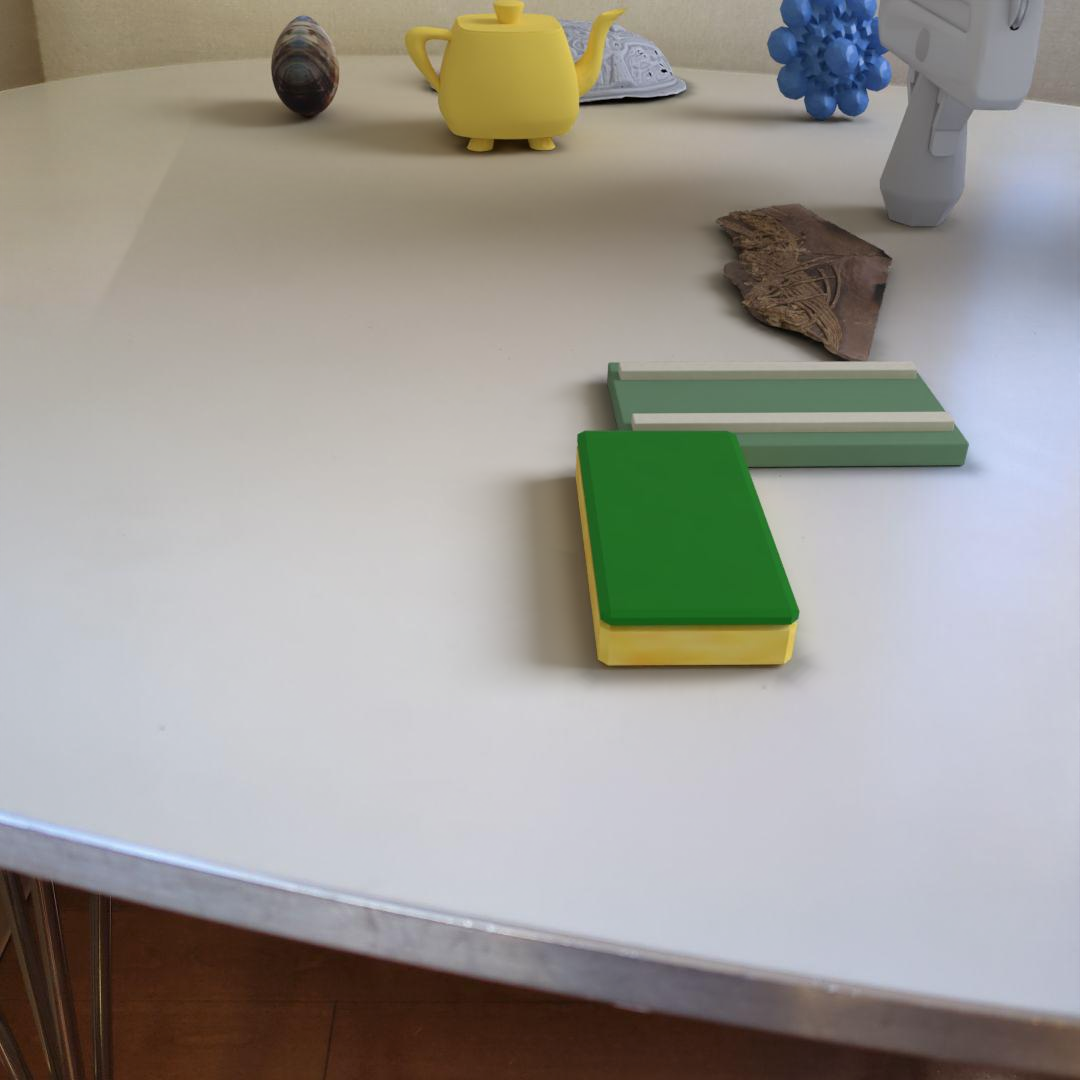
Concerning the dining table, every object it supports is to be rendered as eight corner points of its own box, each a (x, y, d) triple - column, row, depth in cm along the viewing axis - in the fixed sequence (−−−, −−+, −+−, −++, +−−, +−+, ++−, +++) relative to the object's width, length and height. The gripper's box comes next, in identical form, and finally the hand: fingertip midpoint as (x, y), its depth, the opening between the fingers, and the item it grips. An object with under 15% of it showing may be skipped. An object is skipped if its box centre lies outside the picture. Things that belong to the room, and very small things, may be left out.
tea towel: (905, 381, 64) (912, 351, 63) (964, 466, 57) (972, 433, 56) (606, 382, 63) (608, 351, 62) (626, 468, 56) (628, 435, 55)
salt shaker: (925, 237, 83) (966, 37, 76) (857, 215, 87) (890, 22, 80) (972, 219, 87) (1016, 26, 79) (905, 199, 90) (941, 12, 83)
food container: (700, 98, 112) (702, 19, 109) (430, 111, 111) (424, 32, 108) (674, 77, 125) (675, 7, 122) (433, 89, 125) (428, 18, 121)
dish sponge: (598, 668, 44) (601, 615, 42) (574, 474, 55) (576, 428, 54) (792, 667, 44) (802, 614, 43) (729, 475, 55) (734, 428, 54)
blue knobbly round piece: (771, 133, 105) (789, -17, 98) (751, 112, 111) (768, -31, 104) (900, 132, 106) (927, -16, 99) (874, 112, 112) (898, -30, 105)
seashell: (284, 101, 110) (275, 7, 106) (347, 102, 111) (341, 8, 106) (268, 129, 102) (258, 28, 98) (335, 130, 103) (328, 29, 98)
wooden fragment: (712, 208, 87) (714, 193, 86) (866, 215, 86) (869, 201, 86) (733, 361, 66) (735, 343, 65) (938, 373, 65) (942, 355, 64)
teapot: (608, 119, 107) (615, -11, 101) (633, 155, 98) (642, 13, 92) (405, 122, 105) (400, -11, 99) (411, 159, 96) (406, 14, 90)
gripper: (1092, -52, 68) (1031, 191, 75) (966, -94, 85) (927, 108, 93) (982, -54, 67) (932, 191, 75) (878, -96, 85) (846, 107, 92)
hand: (928, 145), depth 84 cm, fingers closed on salt shaker, 3 cm apart
